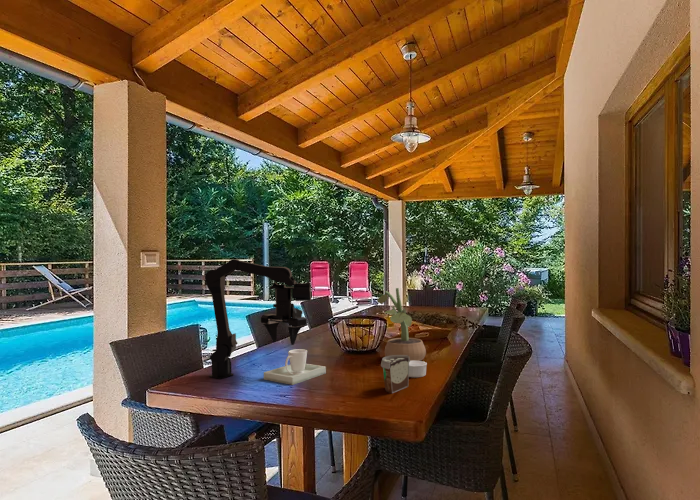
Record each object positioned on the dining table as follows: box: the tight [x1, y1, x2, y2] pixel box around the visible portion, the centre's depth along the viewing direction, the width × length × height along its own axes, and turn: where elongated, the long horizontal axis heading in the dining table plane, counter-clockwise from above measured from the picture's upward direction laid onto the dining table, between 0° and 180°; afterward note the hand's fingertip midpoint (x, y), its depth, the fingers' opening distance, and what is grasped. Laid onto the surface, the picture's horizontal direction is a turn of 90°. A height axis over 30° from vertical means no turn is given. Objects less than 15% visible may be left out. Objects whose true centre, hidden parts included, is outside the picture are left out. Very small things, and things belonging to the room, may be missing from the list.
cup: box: [284, 348, 308, 375], centre depth 173 cm, size 7×10×8 cm
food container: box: [380, 355, 410, 394], centre depth 155 cm, size 12×6×10 cm, turn 141°
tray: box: [263, 363, 327, 386], centre depth 173 cm, size 18×14×2 cm
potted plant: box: [376, 287, 427, 361], centre depth 194 cm, size 22×18×30 cm
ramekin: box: [409, 360, 428, 378], centre depth 171 cm, size 9×9×4 cm
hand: (283, 343), depth 176 cm, fingers open, 9 cm apart
